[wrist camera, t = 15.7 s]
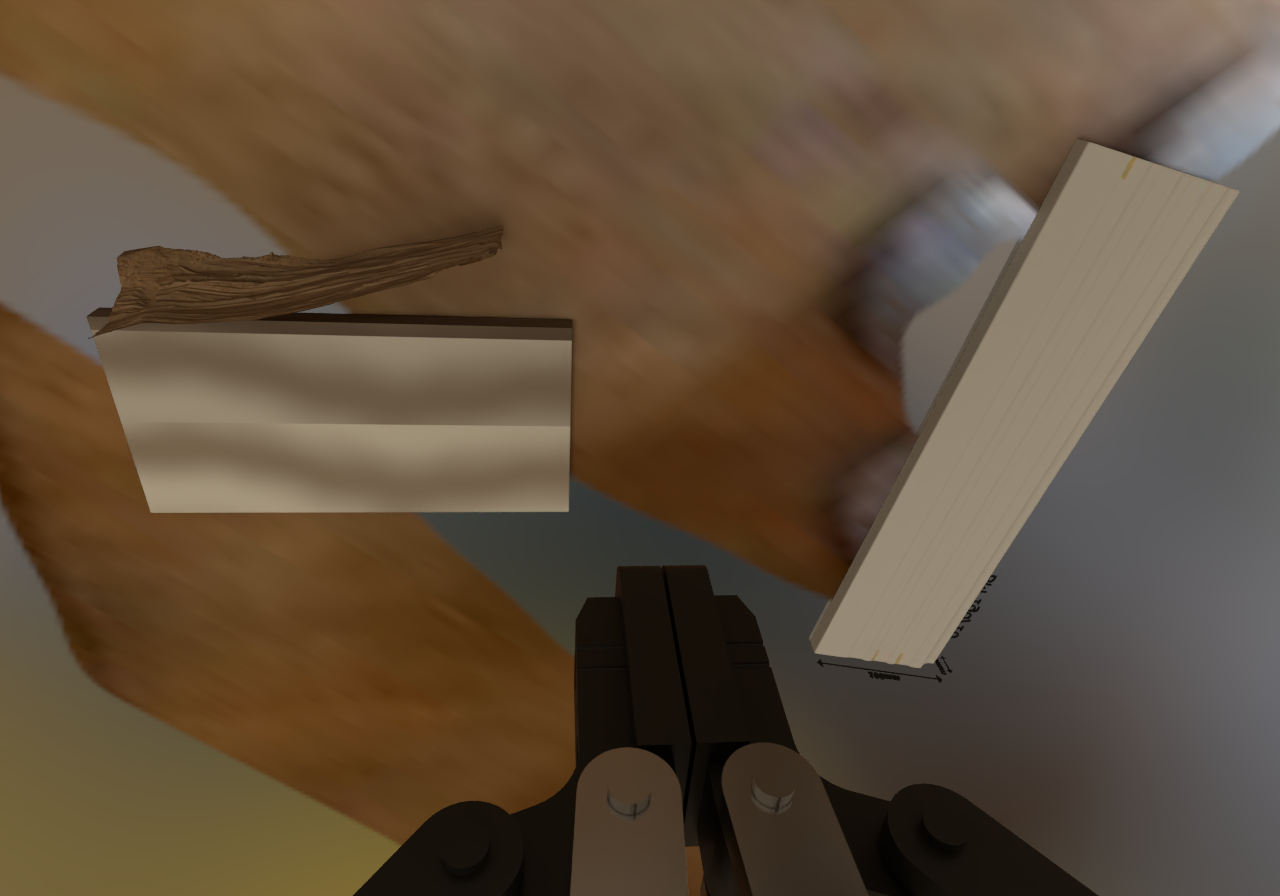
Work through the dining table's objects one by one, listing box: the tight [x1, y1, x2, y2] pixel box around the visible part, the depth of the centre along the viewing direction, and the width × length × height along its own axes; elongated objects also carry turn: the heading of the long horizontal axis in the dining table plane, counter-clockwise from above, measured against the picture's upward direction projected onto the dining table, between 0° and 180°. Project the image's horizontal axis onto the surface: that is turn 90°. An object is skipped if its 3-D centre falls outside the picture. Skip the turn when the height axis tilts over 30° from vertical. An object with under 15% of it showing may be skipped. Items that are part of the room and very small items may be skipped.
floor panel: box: [87, 308, 572, 513], centre depth 36 cm, size 10×20×1 cm, turn 87°
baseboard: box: [809, 138, 1239, 682], centre depth 40 cm, size 30×3×10 cm
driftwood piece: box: [89, 226, 503, 339], centre depth 30 cm, size 15×2×5 cm, turn 98°
